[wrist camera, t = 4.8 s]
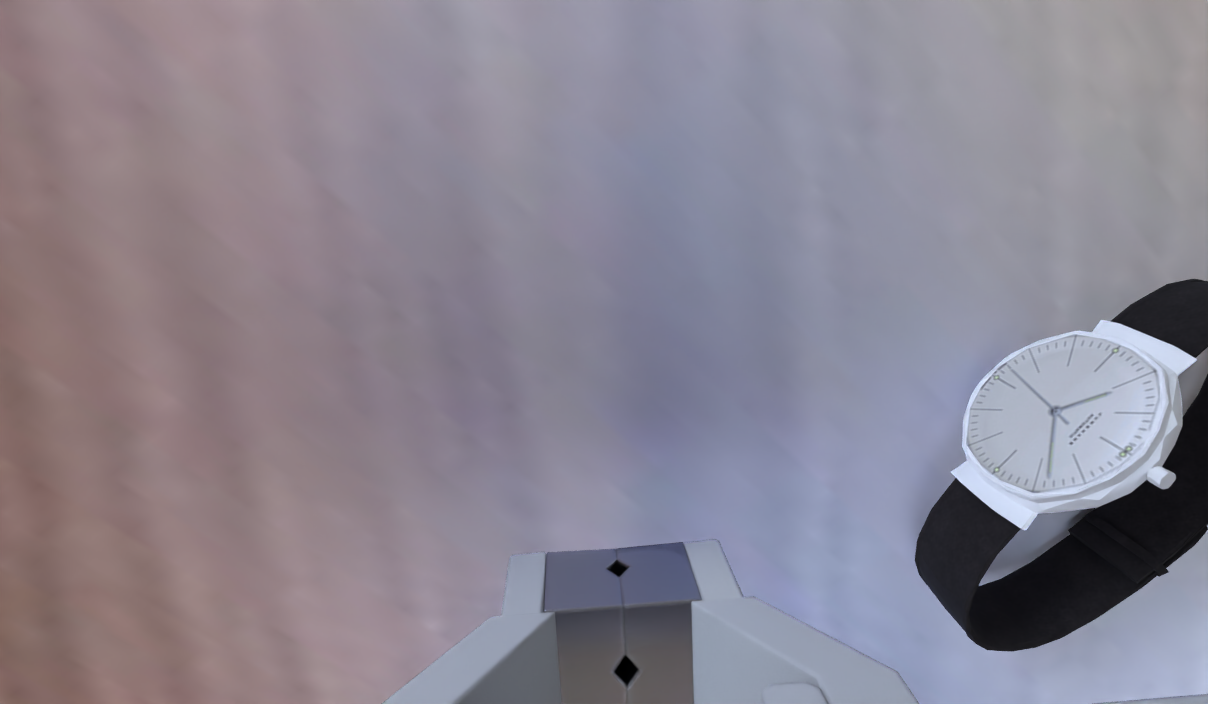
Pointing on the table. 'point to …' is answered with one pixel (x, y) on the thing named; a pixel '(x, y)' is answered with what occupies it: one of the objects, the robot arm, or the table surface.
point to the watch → (1076, 473)
